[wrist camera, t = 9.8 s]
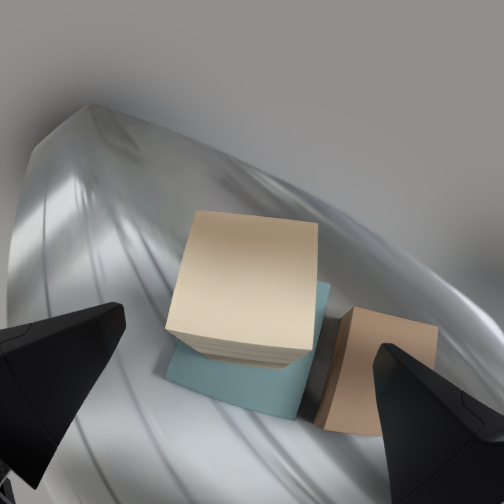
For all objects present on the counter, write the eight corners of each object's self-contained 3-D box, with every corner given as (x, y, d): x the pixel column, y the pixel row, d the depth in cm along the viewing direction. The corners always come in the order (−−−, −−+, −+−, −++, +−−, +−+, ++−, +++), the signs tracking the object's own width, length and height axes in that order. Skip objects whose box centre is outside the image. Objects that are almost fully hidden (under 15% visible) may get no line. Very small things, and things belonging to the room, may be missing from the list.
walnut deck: (398, 433, 14) (418, 437, 12) (313, 423, 15) (323, 429, 13) (417, 336, 18) (438, 326, 15) (340, 318, 19) (354, 306, 16)
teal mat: (292, 419, 16) (294, 420, 15) (168, 378, 17) (163, 378, 16) (327, 289, 20) (330, 284, 19) (215, 258, 21) (213, 252, 20)
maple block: (280, 369, 16) (312, 350, 8) (212, 360, 17) (165, 329, 8) (287, 305, 18) (317, 223, 10) (223, 297, 19) (196, 210, 10)
